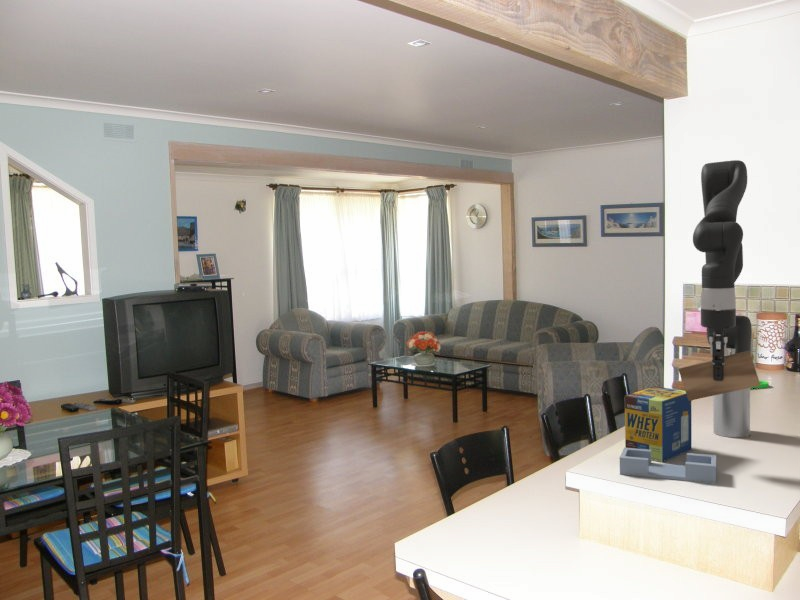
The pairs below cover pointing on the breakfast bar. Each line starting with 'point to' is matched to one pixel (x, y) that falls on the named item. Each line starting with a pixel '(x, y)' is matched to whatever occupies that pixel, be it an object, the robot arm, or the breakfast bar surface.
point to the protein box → (658, 422)
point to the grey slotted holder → (668, 466)
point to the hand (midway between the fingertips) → (718, 378)
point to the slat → (735, 378)
